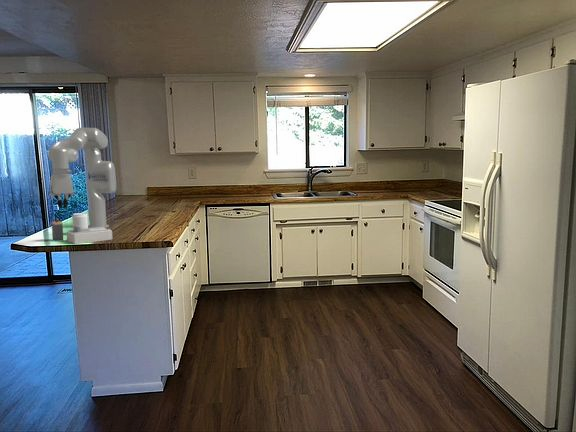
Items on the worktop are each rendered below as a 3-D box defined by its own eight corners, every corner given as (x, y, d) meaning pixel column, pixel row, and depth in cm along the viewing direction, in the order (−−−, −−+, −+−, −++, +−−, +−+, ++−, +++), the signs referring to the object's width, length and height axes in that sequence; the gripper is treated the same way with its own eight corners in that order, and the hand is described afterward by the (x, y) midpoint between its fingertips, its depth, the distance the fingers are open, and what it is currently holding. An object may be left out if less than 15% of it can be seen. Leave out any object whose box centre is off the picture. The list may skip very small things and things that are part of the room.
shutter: (72, 231, 246) (72, 225, 246) (86, 230, 251) (85, 224, 251) (77, 233, 241) (77, 227, 241) (91, 231, 246) (90, 226, 245)
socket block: (67, 240, 247) (66, 230, 246) (103, 236, 261) (103, 226, 260) (74, 244, 238) (74, 233, 238) (112, 239, 252) (112, 229, 251)
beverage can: (85, 232, 273) (84, 212, 271) (90, 234, 267) (89, 214, 265) (71, 233, 268) (70, 213, 266) (75, 235, 262) (74, 215, 260)
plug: (52, 239, 249) (51, 218, 247) (60, 239, 251) (59, 217, 250) (55, 241, 245) (54, 219, 244) (63, 240, 248) (62, 218, 246)
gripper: (74, 171, 243) (76, 205, 246) (42, 172, 233) (44, 207, 235) (79, 172, 238) (81, 207, 241) (46, 172, 227) (49, 209, 230)
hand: (62, 207), depth 238 cm, fingers closed
